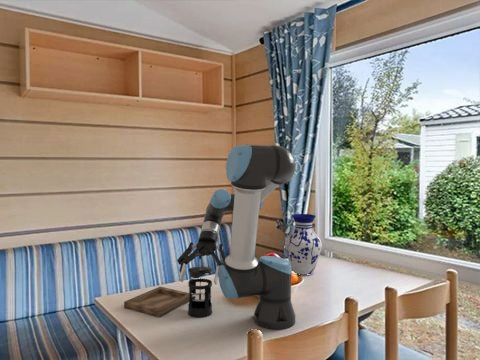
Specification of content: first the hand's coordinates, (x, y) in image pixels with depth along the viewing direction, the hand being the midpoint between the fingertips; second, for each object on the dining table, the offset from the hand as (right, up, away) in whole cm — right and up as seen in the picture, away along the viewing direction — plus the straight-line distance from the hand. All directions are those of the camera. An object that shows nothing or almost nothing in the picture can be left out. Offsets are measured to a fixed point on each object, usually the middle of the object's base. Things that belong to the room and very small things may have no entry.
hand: (198, 281), depth 147 cm
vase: (+49, -10, +55) cm, 74 cm away
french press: (0, -13, +2) cm, 13 cm away
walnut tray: (-17, -12, +10) cm, 23 cm away
